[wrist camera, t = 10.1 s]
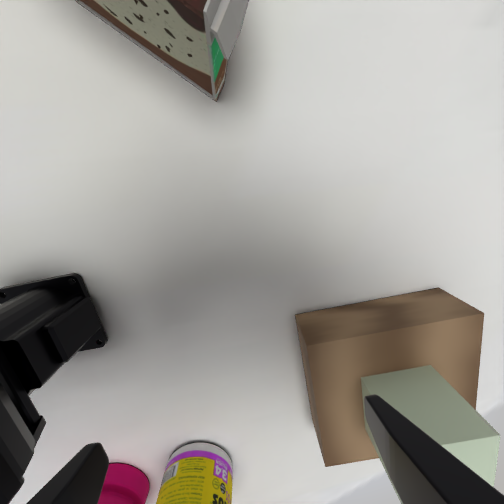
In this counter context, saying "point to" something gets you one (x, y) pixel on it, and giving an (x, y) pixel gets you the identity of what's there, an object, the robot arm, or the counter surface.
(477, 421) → the sage cube
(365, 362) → the walnut block
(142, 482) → the pepper mill
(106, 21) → the food container
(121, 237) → the counter surface
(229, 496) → the supplement bottle
